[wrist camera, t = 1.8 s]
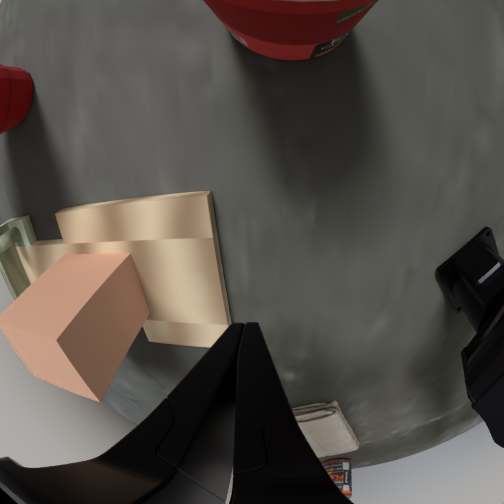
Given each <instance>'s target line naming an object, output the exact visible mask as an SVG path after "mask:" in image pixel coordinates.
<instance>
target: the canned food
mask: <svg viewBox="0 0 504 504" xmlns="http://www.w3.org/2000/svg"><path fill="white" fill-rule="evenodd" d="M377 1H378V0H204V2H205V3H206V4H207V5H208V6H209V7H210V9H211V10H212V11H213V12H214V13H215V15H216V16H217V17H218V18H219V20H220V21H221V22H222V23H223V25H224V26H225V27H226V28H227V30H228V31H229V32H230V33H231V34H232V36H233V37H234V38H235V39H236V40H237V41H239V42H240V43H241V44H242V45H244V46H245V47H247V48H249V49H251V50H252V51H254V52H256V53H259V54H262V55H264V56H267V57H272V58H276V59H282V60H304V59H310V58H314V57H318V56H321V55H323V54H325V53H328V52H330V51H331V50H332V49H334V48H335V47H337V46H338V45H339V44H340V43H341V42H342V40H343V39H344V38H345V37H346V36H347V35H348V34H349V32H350V31H351V30H352V29H353V28H354V27H355V25H356V24H357V23H358V22H359V21H360V20H361V19H362V18H363V16H364V15H365V14H366V13H367V12H368V11H369V10H370V9H371V8H372V7H373V5H374V4H375V3H376V2H377Z"/></svg>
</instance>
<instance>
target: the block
mask: <svg viewBox="0 0 504 504" xmlns="http://www.w3.org/2000/svg"><path fill="white" fill-rule="evenodd" d="M149 314H150V310H149V308H148V305H147V302H146V299H145V296H144V293H143V291H142V288H141V285H140V282H139V279H138V275H137V272H136V269H135V266H134V263H133V259H132V256H131V253H107V254H65V255H63V256H62V257H61V258H60V259H59V260H57V261H56V262H55V263H54V264H53V265H52V266H51V267H50V268H48V269H47V270H46V271H45V272H44V273H43V274H42V275H41V276H40V277H38V278H37V279H36V280H35V281H34V282H33V283H32V284H31V285H30V286H29V287H28V288H27V289H26V290H25V291H24V292H23V293H22V294H21V295H20V296H19V297H18V298H17V299H16V300H15V301H14V302H13V303H12V304H11V305H10V306H9V307H8V308H7V309H6V310H5V311H4V312H3V313H2V314H1V315H0V328H1V329H2V331H3V333H4V334H5V336H6V337H7V339H8V340H9V342H10V344H11V345H12V347H13V348H14V349H15V351H16V352H17V354H18V355H19V357H20V358H21V359H22V361H23V362H24V363H25V365H26V366H27V367H28V369H29V370H30V372H32V374H33V375H34V376H36V377H38V378H40V379H42V380H44V381H47V382H49V383H51V384H53V385H56V386H58V387H61V388H63V389H65V390H68V391H71V392H73V393H76V394H79V395H81V396H84V397H87V398H89V399H92V400H95V401H99V402H101V400H102V398H103V396H104V394H105V393H106V391H107V389H108V387H109V385H110V383H111V381H112V379H113V377H114V376H115V374H116V372H117V370H118V368H119V366H120V364H121V363H122V361H123V359H124V357H125V355H126V354H127V352H128V350H129V348H130V346H131V345H132V343H133V341H134V339H135V338H136V336H137V334H138V332H139V331H140V329H141V327H142V326H143V324H144V322H145V320H146V319H147V317H148V315H149Z"/></svg>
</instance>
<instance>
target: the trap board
mask: <svg viewBox="0 0 504 504" xmlns="http://www.w3.org/2000/svg"><path fill="white" fill-rule="evenodd" d="M55 216H56V219H57V222H58V226H59V229H60V232H61V235H62V238H63V239H55V240H42V241H37V238H36V235H35V232H34V229H33V226H32V222H31V219H30V216H29V215H27V216H22V217H17V218H13V219H10V220H8V221H6V222H5V223H3V224H2V225H0V269H1V272H2V274H3V276H4V278H5V281H6V283H7V285H8V287H9V289H10V291H11V293H12V295H13V297H14V299H15V300H16V299H17V298H18V297H19V296H20V295H21V294H22V293H23V292H24V291H25V290H26V289H27V288H28V287H29V286H30V285H31V284H32V283H33V282H34V281H35V280H36V279H37V278H38V277H40V276H41V275H42V274H43V273H44V272H45V271H46V270H47V269H48V268H50V267H51V266H52V265H53V264H54V263H55V262H56V261H57V260H59V259H60V258H61V257H62V256H63V255H65V254H107V253H131V256H132V259H133V263H134V266H135V269H136V272H137V275H138V279H139V282H140V285H141V288H142V291H143V293H144V296H145V299H146V302H147V305H148V308H149V310H150V314H149V315H148V317H147V319H146V320H145V322H144V324H143V328H144V331H145V333H146V335H147V338H148V340H149V342H157V343H166V344H176V345H186V346H197V347H211V346H212V345H213V344H214V343H215V342H216V340H217V339H218V338H219V337H220V336H221V335H222V334H223V332H224V331H225V330H226V329H227V328H228V327H229V325H230V324H232V323H231V317H230V311H229V305H228V299H227V293H226V287H225V281H224V274H223V268H222V262H221V255H220V248H219V242H218V235H217V228H216V221H215V214H214V206H213V199H212V192H211V191H200V192H188V193H177V194H166V195H157V196H148V197H139V198H131V199H123V200H115V201H108V202H101V203H94V204H88V205H82V206H75V207H69V208H64V209H62V210H60V211H58V212H57V213H55Z"/></svg>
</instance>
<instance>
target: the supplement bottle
mask: <svg viewBox="0 0 504 504" xmlns="http://www.w3.org/2000/svg"><path fill="white" fill-rule="evenodd" d="M322 465H323V466H324V468H325V470H326V471H327V473H328V474H329V476H330V477H331V478H332V480H333V481H334V483H335V484H336V485H337V487H338V488H339V489H340V490H341V491H342V492H343V494H344V495H345V496H346V497H347V498H348V499H350V497H351V495H352V493H351V492H352V487H351V486H352V484H351V461H350V460H348V459H345V458H339V459H331V460H328V461H325V462H324V463H322Z"/></svg>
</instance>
